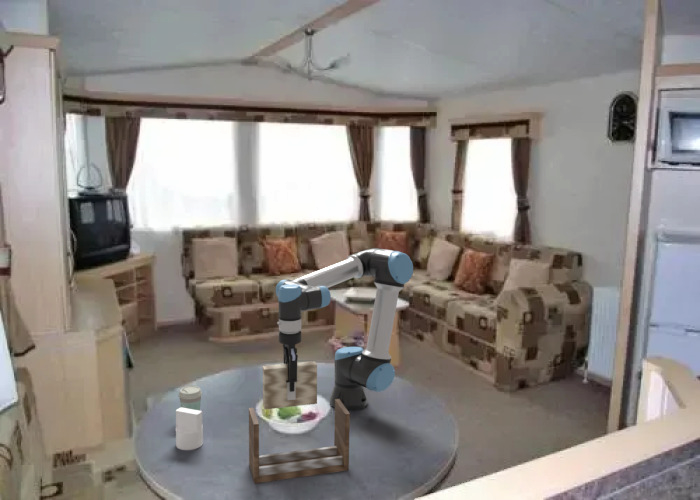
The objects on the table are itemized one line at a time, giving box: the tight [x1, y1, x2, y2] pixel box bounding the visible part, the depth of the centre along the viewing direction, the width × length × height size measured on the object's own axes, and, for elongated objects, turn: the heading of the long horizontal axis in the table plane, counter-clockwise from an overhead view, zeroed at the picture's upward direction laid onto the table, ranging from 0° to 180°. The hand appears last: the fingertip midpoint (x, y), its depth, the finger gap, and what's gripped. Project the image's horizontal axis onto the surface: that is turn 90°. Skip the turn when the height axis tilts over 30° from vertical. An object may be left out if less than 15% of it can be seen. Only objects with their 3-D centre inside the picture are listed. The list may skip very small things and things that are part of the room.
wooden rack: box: [248, 399, 351, 484], centre depth 185 cm, size 30×12×19 cm, turn 107°
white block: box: [175, 406, 204, 451], centre depth 200 cm, size 9×9×12 cm
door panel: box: [262, 360, 318, 410], centre depth 198 cm, size 18×4×14 cm, turn 107°
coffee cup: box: [178, 385, 203, 411], centre depth 218 cm, size 8×8×12 cm
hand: (290, 396), depth 198 cm, fingers closed on door panel, 3 cm apart
